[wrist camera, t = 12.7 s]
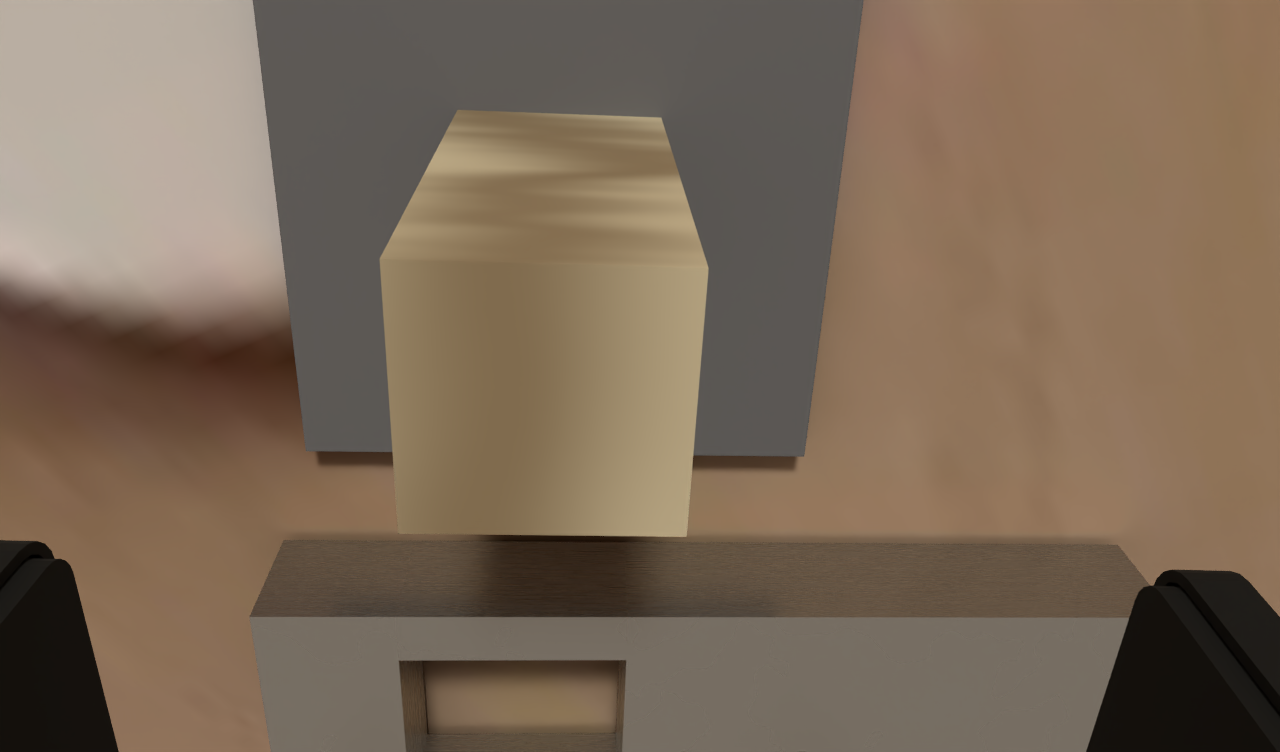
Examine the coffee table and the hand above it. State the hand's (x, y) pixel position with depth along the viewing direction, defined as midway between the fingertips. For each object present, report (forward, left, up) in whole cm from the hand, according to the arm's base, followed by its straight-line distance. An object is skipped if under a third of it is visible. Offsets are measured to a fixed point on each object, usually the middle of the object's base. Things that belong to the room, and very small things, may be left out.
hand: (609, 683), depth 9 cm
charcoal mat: (+1, 0, -15) cm, 15 cm away
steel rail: (-3, +13, -15) cm, 20 cm away
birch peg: (+1, 0, -14) cm, 14 cm away
